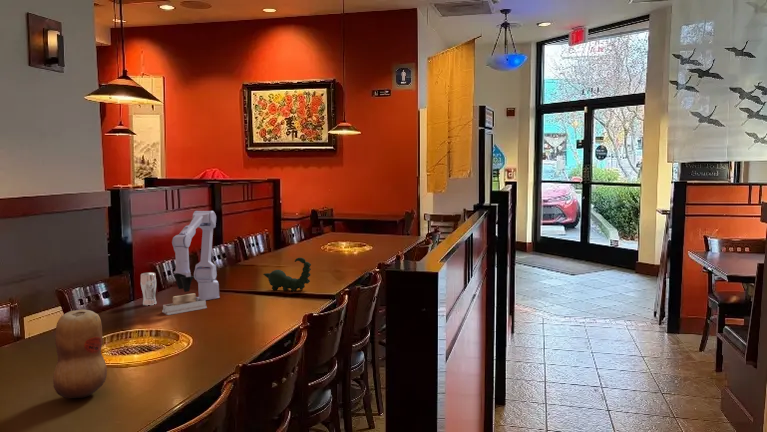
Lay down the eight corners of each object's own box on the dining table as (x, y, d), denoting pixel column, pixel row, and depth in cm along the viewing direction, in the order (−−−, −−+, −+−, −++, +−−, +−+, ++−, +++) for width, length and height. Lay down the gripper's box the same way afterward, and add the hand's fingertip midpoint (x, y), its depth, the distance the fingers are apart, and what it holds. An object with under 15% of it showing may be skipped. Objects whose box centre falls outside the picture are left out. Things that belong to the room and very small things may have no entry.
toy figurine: (310, 291, 293) (265, 287, 294) (312, 256, 291) (267, 252, 293) (306, 295, 283) (259, 291, 285) (308, 260, 281) (261, 255, 283)
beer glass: (160, 302, 267) (158, 272, 266) (152, 306, 260) (151, 275, 259) (146, 302, 268) (145, 272, 266) (139, 305, 261) (137, 275, 260)
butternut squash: (78, 409, 149) (71, 320, 147) (43, 402, 154) (37, 316, 152) (119, 390, 162) (114, 307, 160) (86, 384, 167) (81, 304, 165)
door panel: (194, 305, 256) (194, 293, 255) (196, 306, 254) (195, 293, 254) (173, 309, 249) (172, 296, 249) (174, 310, 248) (173, 297, 248)
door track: (201, 305, 260) (200, 298, 260) (206, 308, 255) (206, 300, 255) (162, 312, 249) (162, 304, 249) (167, 315, 244) (167, 307, 243)
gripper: (168, 260, 253) (169, 288, 254) (179, 264, 242) (180, 294, 243) (183, 258, 258) (185, 286, 259) (194, 262, 246) (196, 291, 248)
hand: (183, 290), depth 251 cm, fingers open, 7 cm apart
